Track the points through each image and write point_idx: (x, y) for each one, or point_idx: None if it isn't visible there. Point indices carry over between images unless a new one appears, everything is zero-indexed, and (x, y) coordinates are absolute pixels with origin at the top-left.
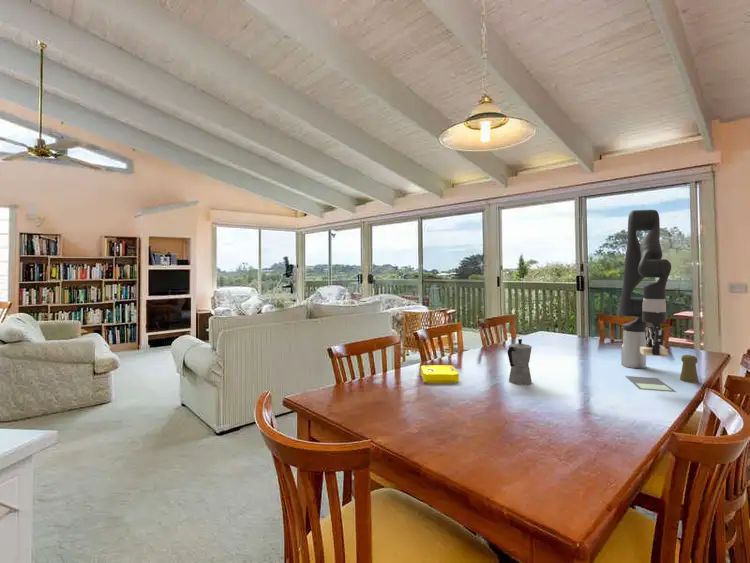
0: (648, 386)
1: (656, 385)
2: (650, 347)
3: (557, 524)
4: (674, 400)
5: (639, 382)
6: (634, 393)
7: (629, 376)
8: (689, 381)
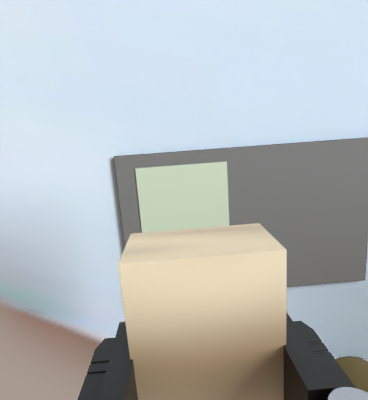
0: (179, 207)
1: None
2: (255, 360)
3: None
4: (5, 262)
5: (251, 182)
6: (44, 120)
7: (366, 158)
8: None
